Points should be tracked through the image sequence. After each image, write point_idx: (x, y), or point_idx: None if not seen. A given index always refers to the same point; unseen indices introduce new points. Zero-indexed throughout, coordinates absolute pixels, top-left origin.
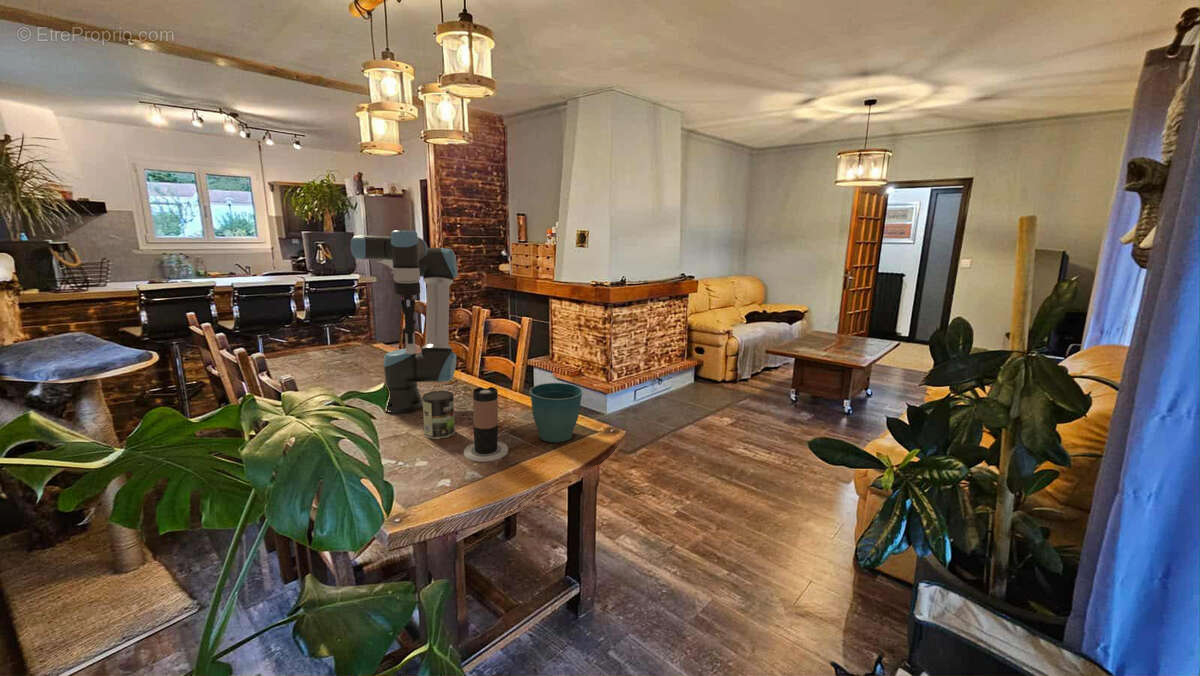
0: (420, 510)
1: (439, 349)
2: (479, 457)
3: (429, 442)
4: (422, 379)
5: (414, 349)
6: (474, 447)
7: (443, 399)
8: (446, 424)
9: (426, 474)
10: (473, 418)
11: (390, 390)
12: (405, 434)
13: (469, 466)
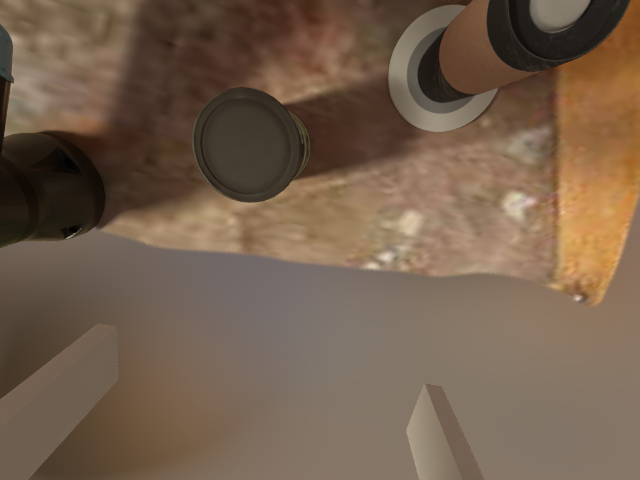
0: (578, 264)
1: None
2: (475, 104)
3: (316, 183)
4: (1, 142)
5: (451, 419)
6: (417, 96)
7: (299, 143)
8: (305, 137)
9: (463, 226)
10: (478, 89)
11: (29, 235)
12: (245, 219)
13: (487, 138)
